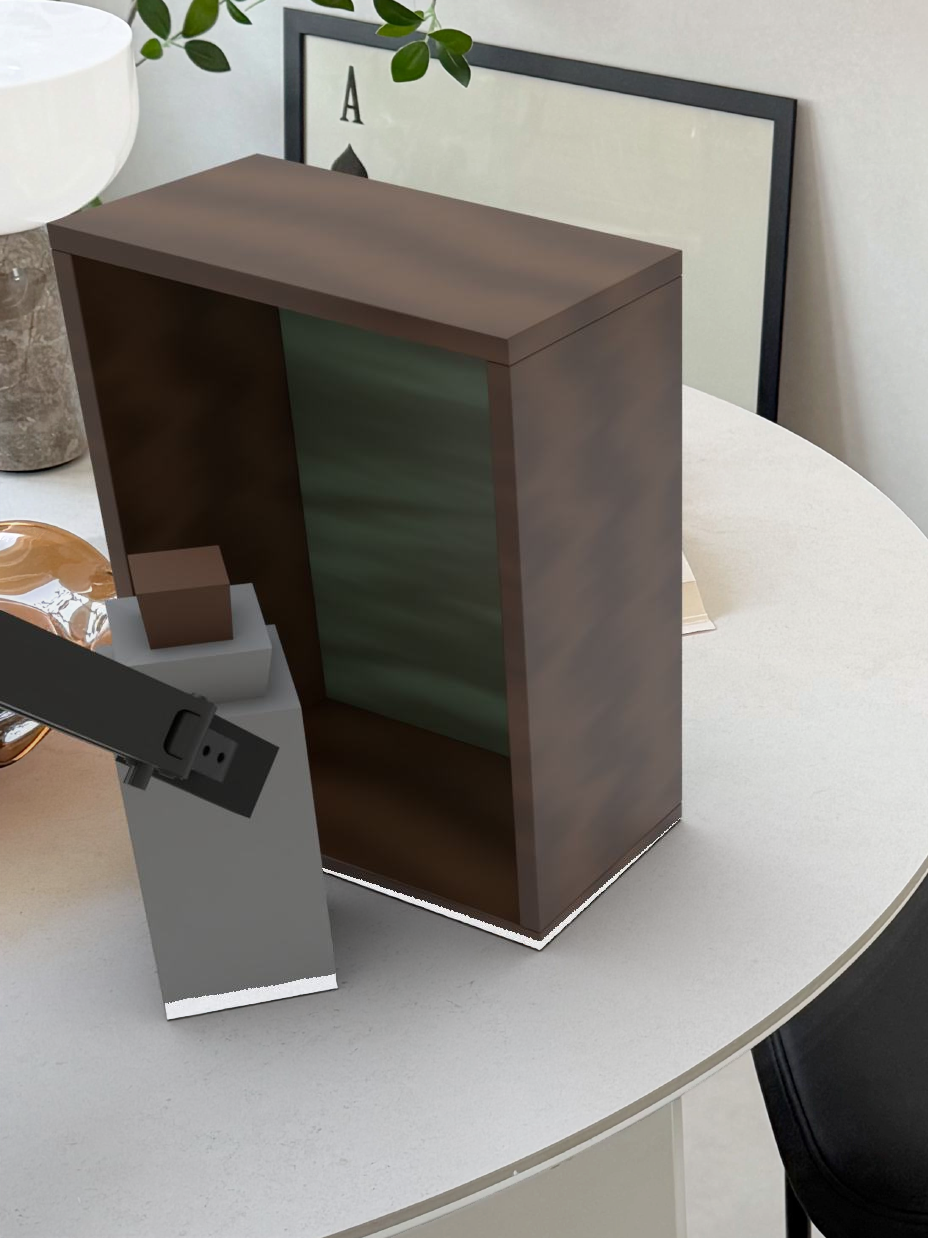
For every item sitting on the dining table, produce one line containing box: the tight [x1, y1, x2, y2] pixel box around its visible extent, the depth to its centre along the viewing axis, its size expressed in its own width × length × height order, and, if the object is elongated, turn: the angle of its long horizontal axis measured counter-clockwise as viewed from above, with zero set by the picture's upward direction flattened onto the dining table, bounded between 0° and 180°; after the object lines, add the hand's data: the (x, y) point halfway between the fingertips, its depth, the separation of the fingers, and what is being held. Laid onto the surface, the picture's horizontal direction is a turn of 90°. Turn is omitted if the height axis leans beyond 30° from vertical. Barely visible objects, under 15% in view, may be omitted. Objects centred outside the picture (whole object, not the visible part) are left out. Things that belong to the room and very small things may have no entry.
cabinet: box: [45, 153, 683, 941], centre depth 84 cm, size 12×21×27 cm, turn 65°
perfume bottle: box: [94, 545, 337, 1005], centre depth 77 cm, size 7×7×18 cm
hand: (107, 727), depth 71 cm, fingers open, 13 cm apart
